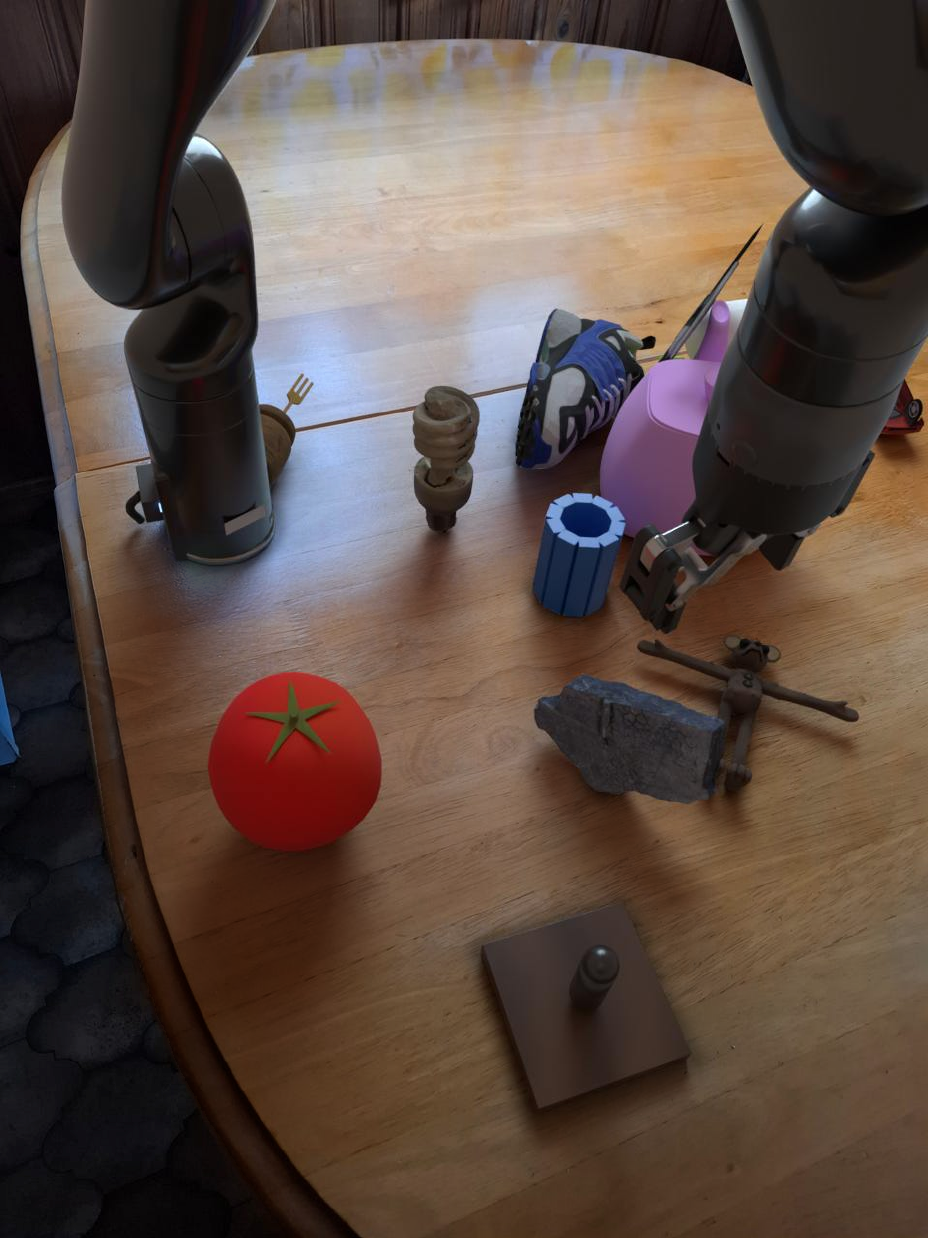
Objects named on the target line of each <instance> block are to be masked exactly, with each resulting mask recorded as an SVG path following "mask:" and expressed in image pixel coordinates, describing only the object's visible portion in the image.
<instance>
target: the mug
mask: <svg viewBox="0 0 928 1238" xmlns="http://www.w3.org/2000/svg"><path fill="white" fill-rule="evenodd" d="M747 300H748V298H743V299H735V300H726V301H724V302H725V303H726V304H727V305H728V308H729V311H730V322H729V330H728V341H727V348H728V346H729V344H730V342H731V341H732V339H733V337H734V335H735V333H736V331H737V329H738V326H739V324H740V321H741V319H742V316H743V312H744V309H745V306H746V303H747ZM711 308H712V307H711ZM711 308H710V310H709V311H708V312H707V314H706V315H705V316H704V318H703V319H702V320H701V322H700V323H699V324H698V326H697V327H696V329H695V330H694V331H693V333H692V334H691V336H690V337H689V338H688V340H687V341H686V342H685V344H684V347H685V352H686V354H687V356H688V357H689V360H693V359H694V357H695V355H696V353H697V352H698V350H699V347H700V345H701V343H702V341H703V338H704V335H705V333H706V329H707V326H708V322H709V316H710V311H711Z"/></svg>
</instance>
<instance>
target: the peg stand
mask: <svg viewBox="0 0 928 1238" xmlns="http://www.w3.org/2000/svg"><path fill="white" fill-rule="evenodd" d="M480 953H481V956H482V959H483V962H484V965H485V967H486V970H487V974H488V977H489V979H490V983H491V986H492V989H493V991H494V994H495V997H496V1000H497V1003H498V1006H499V1009H500V1012H501V1015H502V1019H503V1021H504V1024H505V1026H506V1030H507V1034H508V1036H509V1039H510V1042H511V1045H512V1047H513V1050H514V1053H515V1056H516V1059H517V1063H518V1065H519V1068H520V1071H521V1074H522V1077H523V1080H524V1082H525V1085H526V1089H527V1091H528V1095H529V1098H530V1101H531V1104H532V1106H533V1109H534V1112H535V1114H537V1115H538V1114H539V1113H540V1114H541V1113H543V1112H545V1111H548V1110H551V1109H554V1108H556V1107H560V1106H562V1105H564V1104H565V1105H566V1104H567V1103H570V1102H573V1101H576V1100H578V1099H581V1098H584V1097H587V1096H589V1095H592V1094H596V1093H598V1092H601V1091H603V1090H606V1089H609V1088H612V1087H614V1086H617V1085H620V1084H623V1083H625V1082H626V1083H627V1082H628V1081H631V1080H634V1079H636V1078H639V1077H642V1076H644V1075H648V1074H650V1073H653V1072H656V1071H659V1070H661V1069H664V1068H667V1067H670V1066H672V1065H675V1064H678V1063H680V1062H684V1061H687V1060H688V1059H689V1058H690V1056H691V1055H692V1052H691V1049H690V1047H689V1044H688V1043H687V1040H686V1038H685V1036H684V1034H683V1031H682V1029H681V1027H680V1024H679V1023H678V1020H677V1018H676V1016H675V1014H674V1011H673V1010H672V1007H671V1005H670V1003H669V1000H668V998H667V995H666V994H665V992H664V989H663V987H662V985H661V983H660V981H659V978H658V975H657V973H656V972H655V969H654V968H653V965H652V963H651V961H650V958H649V956H648V954H647V951H646V949H645V948H644V945H643V943H642V941H641V939H640V936H639V934H638V932H637V929H636V927H635V925H634V922H633V921H632V918H631V916H630V914H629V912H628V910H627V908H626V905H625V903H624V901H619V902H615V903H613V904H610V905H606V906H603V907H599V908H596V909H593V910H589V911H587V912H584V913H579V914H576V915H573V916H570V917H567V918H563V919H560V920H557V921H554V922H550V923H548V924H544V925H540V926H538V927H534V928H531V929H528V930H524V931H521V932H517V933H515V934H512V935H508V936H505V937H501V938H497V939H495V940H491V941H489V942H485V943H482V945H481V949H480Z"/></svg>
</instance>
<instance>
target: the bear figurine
mask: <svg viewBox="0 0 928 1238" xmlns="http://www.w3.org/2000/svg"><path fill="white" fill-rule="evenodd" d="M723 645H724V647H725V648H726V649H727V650H729V651H732V653H731V661H732V662H731V663H732V664H733V666H734V667H735V668H727V667H725V666H723V665H721V664H720V663H714V662H713V661H707V660H702V659H700V658H697V657H695V656H692V655H689V654H687V653H684V652H681V651H678V650H675V649H672V648H670V647H668V646H666V645H665V644H664V643H663V642H662V641H661V640H660V639H658V638H655V639H654V642H652V641H649V640H645V639H642V640H640V641H639V642H637V645H636V648H637V650H638V651H639V652H640V653H641V654H644V655H646V656H650V657H654V658H657V659H661V660H665V661H668V662H672V663H675V664H677V665H680V666H683V667H685V668H688V669H690V670H692V671H696V672H699V673H700V674H701V673H702V674H703V675H707V676H708V677H710V678H711V677H712V678H714V679H717V680H720V681H723V682H725V688H724V690H723V693H722V695H721V697H720V705H719V709H718V713H717V716H716V718H717V719H721V720H723V721H724V722H725V723H726V735H727V733H728V730H729V726H730V721H731V717H732V715H734V716H737V717H741V721H740V724H739V727H738V728H739V729H738V732H737V736H736V740H735V745H734V749H733V752H732V756H731V760H730V764H729V765H728V767H727V763H726V761H725V759H724V758H721V761H720V764H719V767H718V770H717V772H716V777H715V780H716V781H717V780H718V779H719V778H720V777H721V776H722V775H723V774H724V773H725V771H726V773H725V779H724V782H723V786H724V788H725V789H726V790H728V791H730V792H735V793H737V792H739V791H740V790H741V789H742V788H744V787H745V786H747V785H749V784H750V782H751V781H752V779H753V772H752V769H749V768H747V765H746V764H747V763H746V762H747V756H748V752H749V749H750V746H751V739H752V734H753V730H754V726H755V722H756V717H757V714H758V711H759V709H760V707H761V704H762V698H763V695H765V696H768V697H771V698H772V699H775V700H778V701H782V702H783V701H784V702H788V703H791V704H795V705H799V706H802V707H806V708H809V709H812V710H815V711H818V712H821V713H824V714H827V715H828V716H831V717H834V718H836V719H838V720H841V721H844V722H847V723H856V722H858V721H859V719H860V715H859V712H858V711H857V710H856V709H854V708H852V707H848V706H847V705H848V704H849V703H848V701H846V700H837V701H835V700H834V701H833V700H826V699H823V698H819V697H816V696H813V695H810V694H807V693H806V692H801V691H796V690H793V689H791V688H788V687H786V686H783V685H780V683H779V682H776V681H765V680H764V679H763V677H761V676H760V675H759V673H761V672H762V671H763V670H764V669H765V668H766V667H767V665H768V663H770V664H774V663H777V662H778V661H779V660H781V657H782V652H781V650H780V649H779V648H778V647H777V646H775V645H772V644H765V643H762V642H761V641H758V640H755V639H749V638H746V637H740V636H739V635H736V634H730V635H727V636H726V637H724V639H723ZM726 738H727V736H726V737H725V739H726ZM725 744H726V741H725V742H724V745H725Z"/></svg>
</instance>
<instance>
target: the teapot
mask: <svg viewBox="0 0 928 1238" xmlns="http://www.w3.org/2000/svg"><path fill="white" fill-rule="evenodd" d="M725 302H726V301H724V300H722V299H718V300H717V299H716V301H715V302H714V304H713V305H712V308H711V311H710V316H709V322H708V326H707V329H706V333H705V335H704V338H703V341H702V343H701V345H700V347H699V350H698V352H697V353H696V355H695V357H694V359H693V360H691V359H686V358H685V359H674V360H666V361H662V362H659V361H658V362H659V363H658V362H657V363H656V364H654V365H653V366H652V367H651V368H650V369H649V370H648V371H647V372H646V374H644V375H645V376H644V377H643V379H642V380H641V381H640V382H639V383H638V385H637V386H636V387H635V388H634V390H633V391H632V392H631V393H630V395H629V396H628V398H627V399H626V400H625V402H624V404H623V405H622V407H621V409H620V410H619V413H618V414H617V415H616V416H615V419H614V421H613V424H612V427H611V429H610V431H609V434H608V437H607V439H606V443H605V445H604V448H603V452H602V456H601V461H600V464H599V465H600V466H599V491H600V497H601V498H603V499H605V500H607V501H609V502H611V503H613V504H614V505H613V507H618V509H619V510H620V512H621V514H622V515H623V517H624V518H625V523H626V526H625V530H624V533H623V535H626V536H628V537H631V538H633V539H635V536H636V534H637V533H638V532H639V531H640V530H641V529H642V528H643V527H645V526H647V525H649V524H654V525H655V527H656V528H657V529H658V530H659V531H660V533H661V534H663V533H665V532H667V531H669V530H671V529H673V528H675V527H677V526H679V525H680V523H681V522H682V518H683V516H684V514H685V513H686V511H687V510H688V509H689V508H690V506H691V505H692V503H693V502H694V500H695V498H696V495H695V486H694V480H693V472H692V459H693V453H694V450H695V447H696V443H697V440H698V437H699V434H700V430H701V427H702V424H703V421H704V417H705V414H706V411H707V408H708V404H709V401H710V398H711V394H712V391H713V388H714V385H715V382H716V378H717V375H718V372H719V369H720V366H721V363H722V360H723V357H724V355H725V352H726V350H727V341H728V330H729V322H730V311H729V308H728V305H727V304H726V303H725ZM691 547H692V548H693V549H694V551H695V552H696V553H697V554H698V555H699V556H708V557H709V556H711V557H713V556H712V555H710V554H708V553H706V552H704V551H703V550H701V549H699V548H697V547H696V546H695V544H693V545H692V546H691ZM757 550H759V548H757V549H756V550H755V551H757Z"/></svg>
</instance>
